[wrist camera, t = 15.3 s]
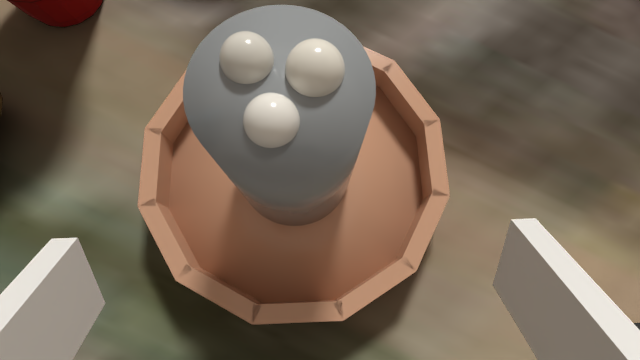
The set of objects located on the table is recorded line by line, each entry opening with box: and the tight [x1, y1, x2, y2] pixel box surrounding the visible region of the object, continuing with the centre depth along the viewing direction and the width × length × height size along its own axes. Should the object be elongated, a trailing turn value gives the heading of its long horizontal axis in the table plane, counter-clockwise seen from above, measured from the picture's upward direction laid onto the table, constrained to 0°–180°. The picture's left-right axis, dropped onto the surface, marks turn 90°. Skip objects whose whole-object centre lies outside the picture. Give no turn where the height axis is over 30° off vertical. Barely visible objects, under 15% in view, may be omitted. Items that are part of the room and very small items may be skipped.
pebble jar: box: [183, 5, 376, 226], centre depth 19 cm, size 7×7×12 cm
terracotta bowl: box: [138, 47, 450, 325], centre depth 24 cm, size 18×18×3 cm
